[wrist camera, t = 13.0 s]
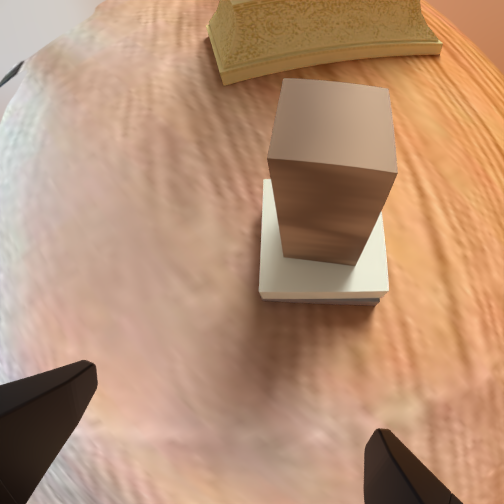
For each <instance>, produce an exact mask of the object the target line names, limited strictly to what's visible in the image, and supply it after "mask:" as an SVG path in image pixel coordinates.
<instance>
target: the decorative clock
mask: <svg viewBox="0 0 504 504" xmlns="http://www.w3.org/2000/svg"><path fill="white" fill-rule="evenodd" d="M206 28H207V31H208V35H209V38H210V42H211V45H212V48H213V52H214V55H215V58H216V62H217V65H218V69H219V72H220V75H221V79H222V82H223V85H224V86H225V85H229V84H233V83H236V82H240V81H244V80H248V79H252V78H256V77H260V76H264V75H269V74H273V73H278V72H283V71H287V70H292V69H298V68H303V67H309V66H314V65H320V64H327V63H333V62H341V61H348V60H357V59H366V58H376V57H389V56H405V55H440V52H441V49H442V45H443V43H442V42H441V41H440V40H439V39H438V38H437V37H436V36H435V34H434V33H433V32H432V30H431V29H430V28H429V27H428V25H427V23H426V21H425V19H424V17H423V15H422V13H421V6H420V0H220V2H219V5H218V8H217V11H216V12H215V14H214V15H213V17H212V18H211V20H210V21H209V25H206Z"/></svg>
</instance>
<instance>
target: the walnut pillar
mask: <svg viewBox="0 0 504 504" xmlns="http://www.w3.org/2000/svg"><path fill="white" fill-rule="evenodd" d="M267 160H268V166H269V171H270V177H271V183H272V189H273V195H274V201H275V207H276V213H277V219H278V225H279V232H280V238H281V244H282V251H283V257H286V258H294V259H302V260H310V261H318V262H326V263H334V264H342V265H350V266H356V264H357V262H358V260H359V258H360V256H361V254H362V252H363V250H364V247H365V245H366V243H367V241H368V239H369V237H370V235H371V233H372V231H373V228H374V226H375V224H376V222H377V220H378V217H379V215H380V213H381V211H382V208H383V206H384V204H385V202H386V199H387V197H388V195H389V192H390V190H391V188H392V185H393V183H394V181H395V178H396V176H397V173H398V172H397V158H396V146H395V136H394V127H393V118H392V110H391V103H390V96H389V89H387V88H381V87H374V86H367V85H360V84H352V83H344V82H334V81H324V80H311V79H295V78H283V82H282V87H281V92H280V97H279V102H278V107H277V112H276V117H275V122H274V127H273V132H272V137H271V142H270V147H269V152H268V157H267Z"/></svg>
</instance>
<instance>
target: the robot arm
mask: <svg viewBox="0 0 504 504" xmlns="http://www.w3.org/2000/svg"><path fill="white" fill-rule="evenodd" d="M97 385H98V381H97V371H96V365H95V364H94V363H92V362H89V361H87V360H81V361H78V362H75V363H72V364H69V365H66V366H63V367H59V368H56V369H53V370H50V371H47V372H43V373H40V374H37V375H34V376H30V377H27V378H24V379H20V380H17V381H13V382H10V383H6V384H3V385H0V504H26V503H27V501H28V500H29V498H30V496H31V495H32V493H33V492H34V490H35V488H36V487H37V485H38V484H39V482H40V481H41V479H42V478H43V476H44V474H45V473H46V471H47V470H48V468H49V467H50V465H51V464H52V462H53V461H54V459H55V458H56V456H57V455H58V453H59V452H60V450H61V449H62V447H63V446H64V444H65V443H66V441H67V440H68V438H69V437H70V435H71V434H72V432H73V431H74V429H75V428H76V426H77V425H78V423H79V421H80V420H81V418H82V416H83V414H84V412H85V410H86V408H87V406H88V404H89V402H90V400H91V398H92V397H93V395H94V393H95V391H96V389H97ZM364 502H365V504H463V503H462V502H461V501H460V500H459V499H458V498H457V497H456V496H455V495H454V494H453V493H452V494H451V491H450V490H449V489H448V488H447V487H446V486H445V485H444V484H443V483H442V482H441V481H440V480H439V479H438V478H437V477H436V476H435V475H434V474H433V473H432V472H431V471H430V470H429V469H428V468H427V467H426V466H425V465H424V464H423V463H422V462H421V461H420V460H419V459H418V458H417V457H416V456H415V455H414V454H413V453H412V452H411V451H410V450H409V449H408V448H407V447H406V446H405V445H404V444H403V443H402V442H401V441H400V440H399V439H398V438H397V437H396V436H395V435H394V434H393V433H392V432H391V431H390V430H389V429H380V428H379V429H376V430H375V431H374V433H373V435H372V436H371V438H370V439H369V441H368V443H367V444H366V447H365V453H364Z"/></svg>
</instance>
